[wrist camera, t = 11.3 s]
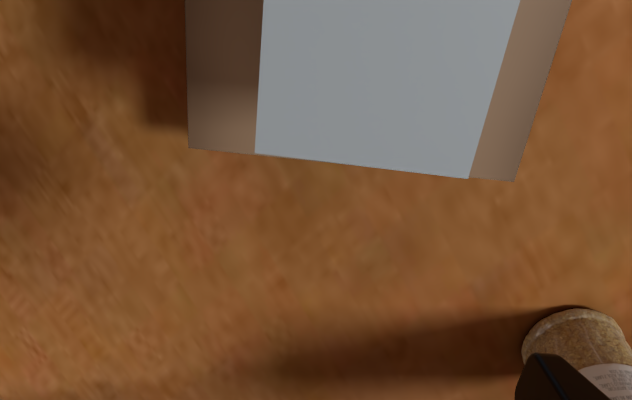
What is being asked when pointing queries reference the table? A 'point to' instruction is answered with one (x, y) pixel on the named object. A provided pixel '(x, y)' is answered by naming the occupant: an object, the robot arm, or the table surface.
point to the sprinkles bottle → (586, 348)
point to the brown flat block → (239, 137)
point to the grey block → (380, 80)
